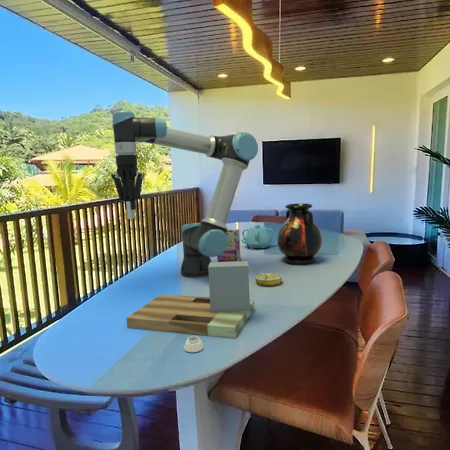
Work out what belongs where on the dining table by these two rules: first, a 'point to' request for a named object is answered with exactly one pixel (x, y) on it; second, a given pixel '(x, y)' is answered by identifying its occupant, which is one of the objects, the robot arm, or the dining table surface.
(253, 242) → the decorative pot
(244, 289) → the grey block
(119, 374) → the dining table surface
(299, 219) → the amphora vase
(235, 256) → the candy bar box
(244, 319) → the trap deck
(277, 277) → the decorated donut
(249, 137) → the robot arm
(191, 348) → the white jar
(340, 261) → the dining table surface
